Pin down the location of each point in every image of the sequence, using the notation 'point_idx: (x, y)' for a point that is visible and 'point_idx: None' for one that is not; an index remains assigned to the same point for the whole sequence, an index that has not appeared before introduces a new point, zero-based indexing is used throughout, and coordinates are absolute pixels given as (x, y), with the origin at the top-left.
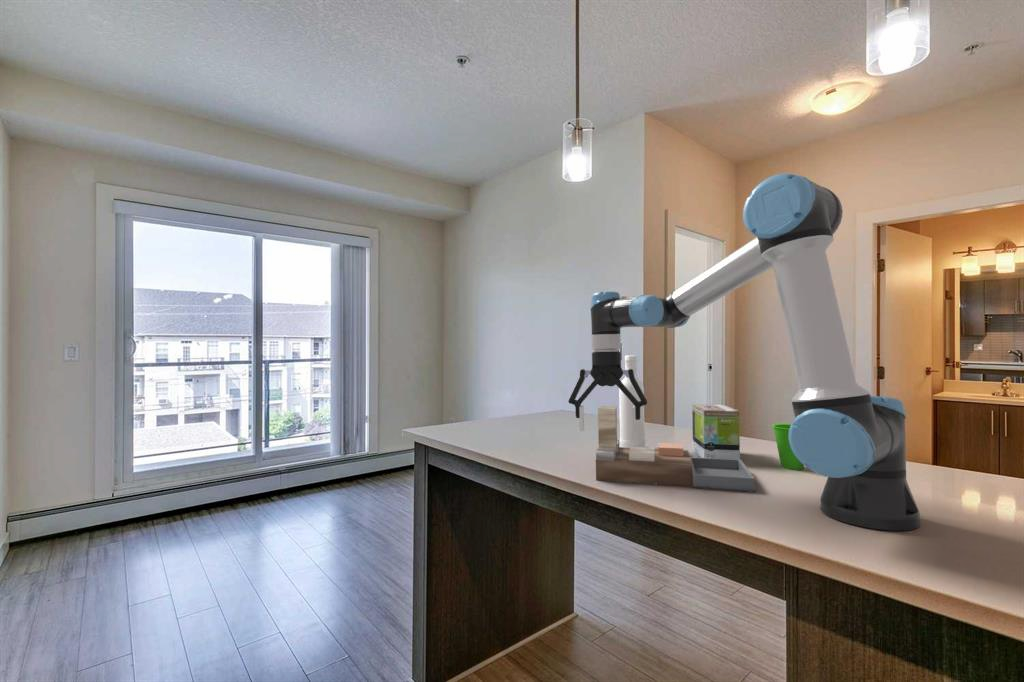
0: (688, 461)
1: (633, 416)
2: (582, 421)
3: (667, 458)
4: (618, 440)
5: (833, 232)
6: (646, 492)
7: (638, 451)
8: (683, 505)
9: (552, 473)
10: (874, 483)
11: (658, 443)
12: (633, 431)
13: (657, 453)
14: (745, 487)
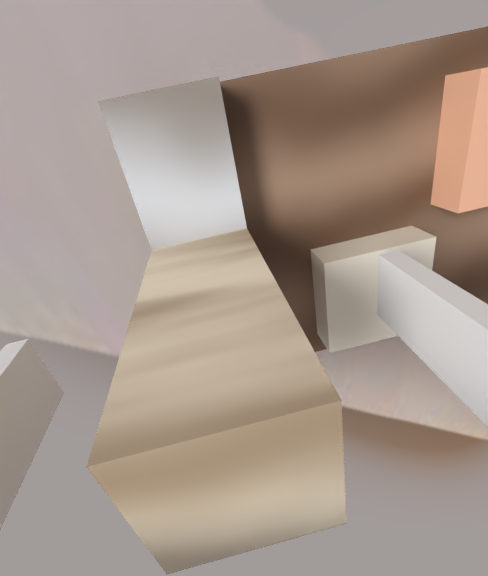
0: None
1: (464, 392)
2: (34, 453)
3: (457, 246)
4: (220, 97)
5: None
6: (346, 361)
7: (365, 328)
8: (416, 393)
9: (30, 335)
10: None
11: (476, 94)
12: (387, 319)
13: (429, 167)
14: None
